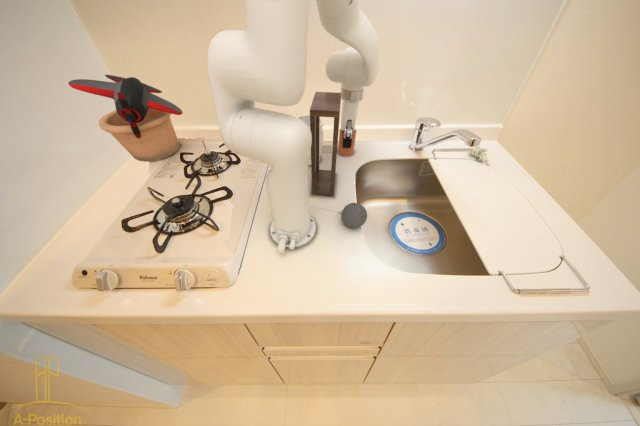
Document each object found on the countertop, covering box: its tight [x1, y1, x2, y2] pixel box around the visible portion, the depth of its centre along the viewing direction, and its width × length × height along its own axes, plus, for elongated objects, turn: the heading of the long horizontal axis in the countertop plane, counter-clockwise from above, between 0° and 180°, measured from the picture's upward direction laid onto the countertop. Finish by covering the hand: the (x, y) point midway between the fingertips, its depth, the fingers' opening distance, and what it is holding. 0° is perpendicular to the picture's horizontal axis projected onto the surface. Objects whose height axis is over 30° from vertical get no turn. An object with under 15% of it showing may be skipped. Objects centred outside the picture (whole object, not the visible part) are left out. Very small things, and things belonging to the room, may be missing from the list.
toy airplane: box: [68, 74, 184, 139], centre depth 70 cm, size 28×24×15 cm
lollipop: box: [311, 202, 368, 229], centre depth 62 cm, size 10×20×7 cm, turn 85°
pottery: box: [98, 108, 181, 163], centre depth 82 cm, size 22×22×14 cm
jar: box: [296, 114, 324, 166], centre depth 79 cm, size 11×10×15 cm
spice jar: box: [337, 128, 357, 157], centre depth 85 cm, size 6×6×9 cm
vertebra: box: [470, 145, 489, 162], centre depth 83 cm, size 6×7×4 cm
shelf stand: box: [309, 91, 342, 197], centre depth 64 cm, size 12×7×27 cm, turn 174°
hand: (346, 141), depth 85 cm, fingers open, 7 cm apart
